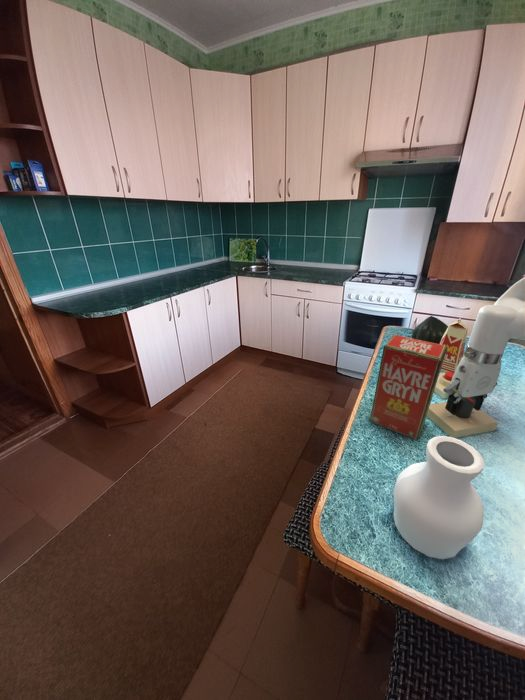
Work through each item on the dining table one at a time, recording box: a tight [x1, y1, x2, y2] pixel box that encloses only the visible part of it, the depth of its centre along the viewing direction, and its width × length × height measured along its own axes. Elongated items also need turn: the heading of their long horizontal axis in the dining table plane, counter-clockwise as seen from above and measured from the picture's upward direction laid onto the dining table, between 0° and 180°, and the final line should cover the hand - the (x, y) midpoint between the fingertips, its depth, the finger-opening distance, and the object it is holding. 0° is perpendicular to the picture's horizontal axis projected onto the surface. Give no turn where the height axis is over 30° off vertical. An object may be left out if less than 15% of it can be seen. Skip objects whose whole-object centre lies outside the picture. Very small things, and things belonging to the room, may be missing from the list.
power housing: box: [434, 372, 459, 400], centre depth 97 cm, size 12×10×4 cm
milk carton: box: [440, 317, 469, 373], centre depth 106 cm, size 9×9×20 cm
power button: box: [444, 372, 454, 381], centre depth 96 cm, size 4×4×2 cm
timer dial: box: [456, 394, 476, 418], centre depth 81 cm, size 4×4×6 cm
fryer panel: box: [426, 401, 500, 439], centre depth 83 cm, size 14×11×3 cm
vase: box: [392, 435, 485, 560], centre depth 52 cm, size 14×14×20 cm
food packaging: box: [369, 334, 447, 441], centre depth 78 cm, size 13×9×25 cm
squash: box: [411, 315, 449, 344], centre depth 121 cm, size 14×15×15 cm
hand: (462, 409), depth 81 cm, fingers open, 7 cm apart
